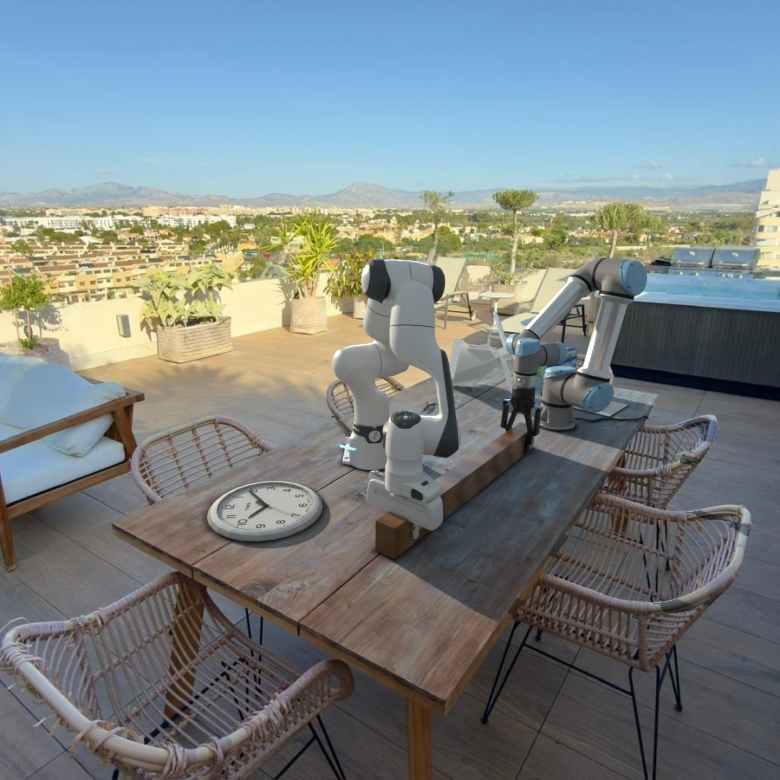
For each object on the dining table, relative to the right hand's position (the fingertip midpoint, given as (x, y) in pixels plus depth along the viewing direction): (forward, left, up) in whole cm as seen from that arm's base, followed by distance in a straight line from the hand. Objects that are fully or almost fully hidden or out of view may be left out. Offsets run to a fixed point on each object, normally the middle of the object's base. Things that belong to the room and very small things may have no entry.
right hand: (517, 450), depth 179 cm
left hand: (+34, +59, +2) cm, 68 cm away
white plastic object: (+10, -66, -1) cm, 67 cm away
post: (+17, +30, -1) cm, 34 cm away
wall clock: (+72, +50, -1) cm, 87 cm away
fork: (+32, -42, -1) cm, 53 cm away
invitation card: (-42, -54, -1) cm, 68 cm away
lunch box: (-25, -74, -1) cm, 78 cm away
